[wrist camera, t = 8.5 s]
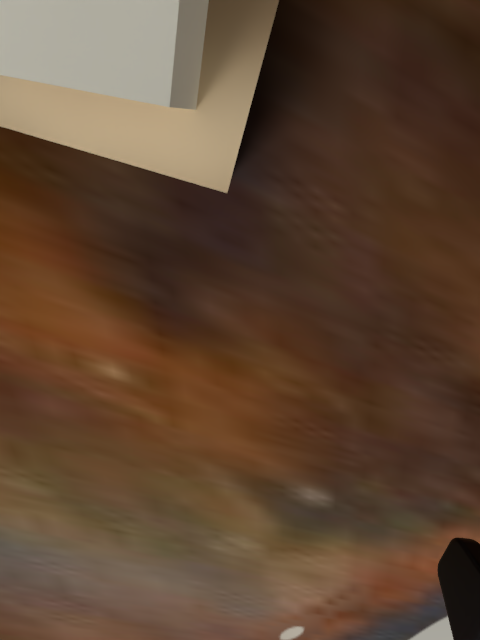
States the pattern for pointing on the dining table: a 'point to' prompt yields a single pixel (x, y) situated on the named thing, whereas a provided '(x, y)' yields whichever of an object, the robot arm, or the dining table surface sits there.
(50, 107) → the oak block
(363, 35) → the dining table surface
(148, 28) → the off-white plain cube
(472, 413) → the dining table surface
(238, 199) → the dining table surface
